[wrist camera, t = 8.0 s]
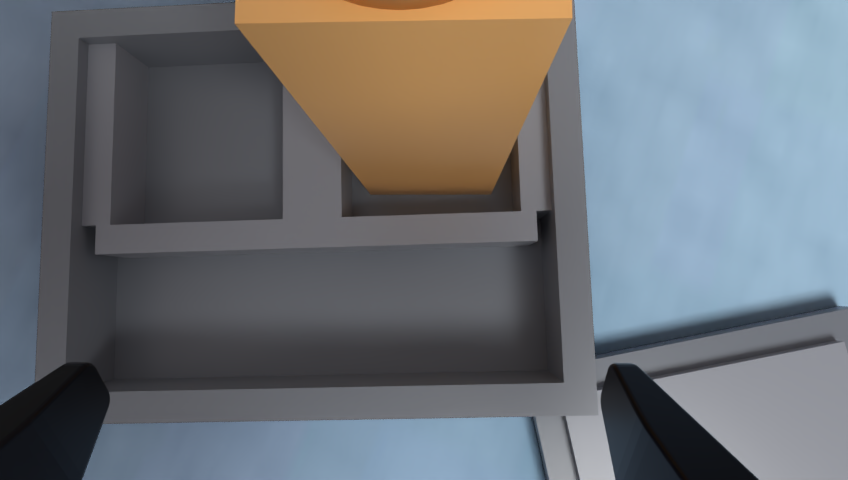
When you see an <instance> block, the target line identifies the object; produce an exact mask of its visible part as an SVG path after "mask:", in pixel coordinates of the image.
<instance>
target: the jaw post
mask: <svg viewBox="0 0 848 480" xmlns="http://www.w3.org/2000/svg"><path fill="white" fill-rule="evenodd" d="M571 20H572V0H236V1H235V25H236V26H237V27H238V29H239V30H240V31H241V32H242V34H243V35H244V36H245V37H246V39H247V40H248V41H249V42H250V44H251V45H252V46H253V47H254V49H255V50H256V51H257V52H258V54H259V55H260V56H261V57H262V59H263V60H264V61H265V63H266V64H267V65H268V66H269V68H270V69H271V70H272V71H273V73H274V74H275V75H276V76H277V78H278V79H279V80H280V81H281V83H282V84H283V85H284V86H285V88H286V89H287V90H288V91H289V93H290V94H291V95H292V96H293V98H294V99H295V100H296V101H297V103H298V104H299V105H300V106H301V108H302V109H303V110H304V111H305V113H306V114H307V115H308V116H309V118H310V119H311V120H312V121H313V123H314V124H315V125H316V127H317V128H318V129H319V130H320V132H321V133H322V134H323V135H324V137H325V138H326V139H327V140H328V142H329V143H330V144H331V145H332V147H333V148H334V149H335V150H336V152H337V153H338V154H339V155H340V157H341V158H342V159H343V160H344V162H345V163H346V164H347V165H348V167H349V168H350V169H351V170H352V172H353V173H354V174H355V175H356V177H357V178H358V179H359V180H360V182H361V183H362V184H363V185H364V187H365V188H366V189H367V191H368V192H369V193H370V194H371V195H491V193H492V191H493V189H494V187H495V185H496V182H497V180H498V178H499V176H500V174H501V172H502V169H503V167H504V165H505V163H506V161H507V159H508V156H509V154H510V152H511V150H512V148H513V146H514V143H515V141H516V139H517V137H518V135H519V133H520V131H521V128H522V126H523V124H524V122H525V120H526V118H527V115H528V113H529V111H530V109H531V107H532V105H533V102H534V100H535V98H536V96H537V94H538V92H539V89H540V87H541V85H542V83H543V81H544V79H545V76H546V74H547V72H548V70H549V68H550V66H551V63H552V61H553V59H554V57H555V55H556V53H557V50H558V48H559V46H560V44H561V42H562V40H563V37H564V35H565V33H566V31H567V29H568V27H569V25H570V22H571Z"/></svg>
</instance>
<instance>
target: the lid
mask: <svg viewBox="0 0 848 480" xmlns="http://www.w3.org/2000/svg"><path fill="white" fill-rule="evenodd" d="M613 363H632V364H635V365H637V366H638V367H640V368H641V369H642V370H643V371H644V372H645V373H646V374H647V375H648V376H649V377H650V378H651V379H652V380H653V381H654V382H656V383H657V384H658V385H659V386H660V387H661V388H662V389H663V390H664V391H665V392H666V393H667V394H668V395H669V396H670V397H672V398H673V399H674V400H675V401H676V402H677V403H678V404H679V405H680V406H681V407H682V408H683V409H684V410H685V411H686V412H688V413H689V414H690V415H691V416H692V417H693V418H694V419H695V420H696V421H697V422H698V423H699V424H700V425H701V426H703V427H704V428H705V429H706V430H707V431H708V432H709V433H710V434H711V435H712V436H713V437H714V438H715V439H716V440H717V441H719V442H720V443H721V444H722V445H723V446H724V447H725V448H726V449H727V450H728V451H729V452H730V453H731V454H732V455H733V456H735V457H736V458H737V459H738V460H739V461H740V462H741V463H742V464H743V465H744V466H745V467H746V468H747V469H748V470H749V471H751V472H752V473H753V474H754V475H755V476H756V477H757V478H758V479H759V480H848V307H842V306H838V307H833V308H828V309H823V310H818V311H813V312H808V313H803V314H798V315H793V316H788V317H783V318H778V319H773V320H768V321H763V322H758V323H753V324H748V325H743V326H738V327H733V328H728V329H723V330H718V331H713V332H709V333H704V334H699V335H694V336H689V337H684V338H679V339H674V340H669V341H664V342H659V343H654V344H649V345H644V346H639V347H634V348H629V349H624V350H619V351H614V352H609V353H604V354H599V355H595V364H596V381H597V398H598V415H596V416H537V417H533V420H534V425H535V429H536V434H537V438H538V443H539V447H540V452H541V456H542V461H543V466H544V470H545V475H546V479H547V480H615V475H614V470H613V465H612V460H611V455H610V450H609V445H608V440H607V435H606V430H605V425H604V420H603V415H602V410H601V401H600V398H601V392H602V388H603V385H604V381H605V378H606V374H607V370H608V368H609V366H610V365H611V364H613Z"/></svg>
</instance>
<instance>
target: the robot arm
mask: <svg viewBox="0 0 848 480" xmlns="http://www.w3.org/2000/svg"><path fill="white" fill-rule="evenodd" d="M600 401H601V410H602V415H603V420H604V425H605V430H606V435H607V440H608V445H609V450H610V455H611V460H612V465H613V470H614V475H615V480H759V479H758V478H757V477H756V476H755V475H754V474H753V473H752V472H751V471H749V470H748V469H747V468H746V467H745V466H744V465H743V464H742V463H741V462H740V461H739V460H738V459H737V458H736V457H735V456H733V455H732V454H731V453H730V452H729V451H728V450H727V449H726V448H725V447H724V446H723V445H722V444H721V443H720V442H719V441H717V440H716V439H715V438H714V437H713V436H712V435H711V434H710V433H709V432H708V431H707V430H706V429H705V428H704V427H703V426H701V425H700V424H699V423H698V422H697V421H696V420H695V419H694V418H693V417H692V416H691V415H690V414H689V413H688V412H686V411H685V410H684V409H683V408H682V407H681V406H680V405H679V404H678V403H677V402H676V401H675V400H674V399H673V398H672V397H670V396H669V395H668V394H667V393H666V392H665V391H664V390H663V389H662V388H661V387H660V386H659V385H658V384H657V383H656V382H654V381H653V380H652V379H651V378H650V377H649V376H648V375H647V374H646V373H645V372H644V371H643V370H642V369H641V368H640V367H638V366H637V365H635V364H632V363H613V364H611V365H610V366H609V368H608V370H607V374H606V378H605V381H604V385H603V388H602V392H601V398H600ZM109 404H110V394H109V391H108V389H107V387H106V385H105V383H104V381H103V379H102V377H101V376H100V374H99V372H98V370H97V368H96V367H95V365H93V364H92V363H89V362H70V363H66V364H63V365H62V366H60V367H58V368H57V369H55V370H54V371H52V372H51V373H49V374H48V375H46V376H45V377H43V378H41V379H40V380H38V381H37V382H35V383H34V384H32V385H31V386H29V387H28V388H26V389H25V390H23V391H22V392H20V393H19V394H17V395H15V396H14V397H12V398H11V399H9V400H8V401H6V402H5V403H3V404H2V405H0V480H82V478H83V476H84V473H85V470H86V468H87V465H88V462H89V459H90V457H91V454H92V451H93V449H94V446H95V443H96V440H97V438H98V435H99V432H100V430H101V427H102V424H103V421H104V419H105V416H106V413H107V411H108V408H109Z"/></svg>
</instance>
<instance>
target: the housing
mask: <svg viewBox="0 0 848 480" xmlns="http://www.w3.org/2000/svg"><path fill="white" fill-rule="evenodd" d="M70 362H89V363H92V364H93V365H95V367H96V368H97V370H98V372H99V374H100V376H101V377H102V379H103V381H104V383H105V385H106V387H107V389H108V391H109V394H110V404H109V408H108V411H107V413H106V416H105V419H104V421H103V424H123V423H182V422H241V421H300V420H359V419H418V418H478V417H537V416H596V415H598V398H597V381H596V364H595V347H594V329H593V312H592V295H591V278H590V261H589V244H588V227H587V210H586V193H585V176H584V159H583V142H582V125H581V108H580V91H579V74H578V57H577V39H576V22H575V5H574V0H572V20H571V22H570V25H569V27H568V29H567V31H566V33H565V35H564V37H563V40H562V42H561V44H560V46H559V48H558V50H557V53H556V55H555V57H554V59H553V61H552V63H551V66H550V68H549V70H548V72H547V74H546V76H545V79H544V81H543V83H542V85H541V87H540V89H539V92H538V94H537V96H536V98H535V100H534V102H533V105H532V107H531V109H530V111H529V113H528V115H527V118H526V120H525V122H524V124H523V126H522V128H521V131H520V133H519V135H518V137H517V139H516V141H515V143H514V146H513V148H512V150H511V152H510V154H509V156H508V159H507V161H506V163H505V165H504V167H503V169H502V172H501V174H500V176H499V178H498V180H497V182H496V185H495V187H494V189H493V191H492V193H491V195H371V194H370V193H369V192H368V191H367V189H366V188H365V187H364V185H363V184H362V183H361V182H360V180H359V179H358V178H357V177H356V175H355V174H354V173H353V172H352V170H351V169H350V168H349V167H348V165H347V164H346V163H345V162H344V160H343V159H342V158H341V157H340V155H339V154H338V153H337V152H336V150H335V149H334V148H333V147H332V145H331V144H330V143H329V142H328V140H327V139H326V138H325V137H324V135H323V134H322V133H321V132H320V130H319V129H318V128H317V127H316V125H315V124H314V123H313V121H312V120H311V119H310V118H309V116H308V115H307V114H306V113H305V111H304V110H303V109H302V108H301V106H300V105H299V104H298V103H297V101H296V100H295V99H294V98H293V96H292V95H291V94H290V93H289V91H288V90H287V89H286V88H285V86H284V85H283V84H282V83H281V81H280V80H279V79H278V78H277V76H276V75H275V74H274V73H273V71H272V70H271V69H270V68H269V66H268V65H267V64H266V63H265V61H264V60H263V59H262V57H261V56H260V55H259V54H258V52H257V51H256V50H255V49H254V47H253V46H252V45H251V44H250V42H249V41H248V40H247V39H246V37H245V36H244V35H243V34H242V32H241V31H240V30H239V29H238V27H237V26H236V25H235V2H233V3H213V4H194V5H174V6H154V7H135V8H115V9H96V10H76V11H57V12H52V22H51V44H50V65H49V87H48V109H47V131H46V152H45V174H44V196H43V217H42V239H41V261H40V282H39V304H38V326H37V347H36V369H35V382H37V381H38V380H40V379H41V378H43V377H45V376H46V375H48V374H49V373H51V372H52V371H54V370H55V369H57V368H58V367H60V366H62V365H63V364H66V363H70Z"/></svg>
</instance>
